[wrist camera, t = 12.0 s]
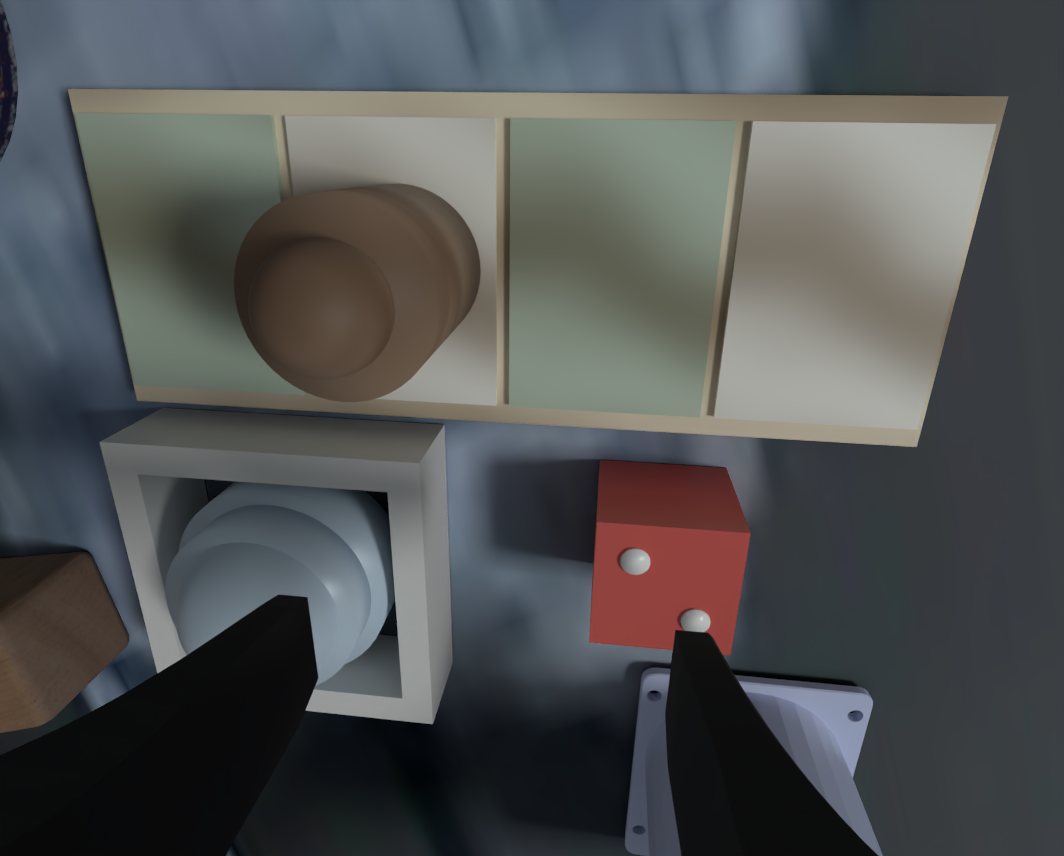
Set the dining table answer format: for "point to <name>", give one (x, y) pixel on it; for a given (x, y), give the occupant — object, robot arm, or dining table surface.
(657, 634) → the red die
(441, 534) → the dome housing
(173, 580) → the dome
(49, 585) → the wooden block
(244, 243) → the pawn
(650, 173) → the track board
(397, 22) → the dining table surface
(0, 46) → the storage jar
